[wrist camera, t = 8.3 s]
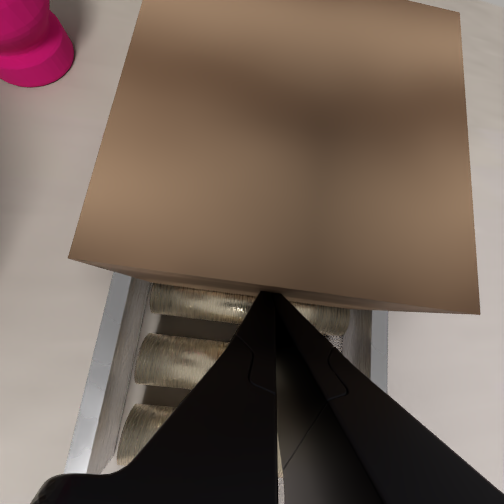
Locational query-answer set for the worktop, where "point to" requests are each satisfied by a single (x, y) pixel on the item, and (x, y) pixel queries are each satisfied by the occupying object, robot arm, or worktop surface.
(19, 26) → the pepper mill
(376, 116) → the slab
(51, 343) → the worktop surface
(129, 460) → the track
